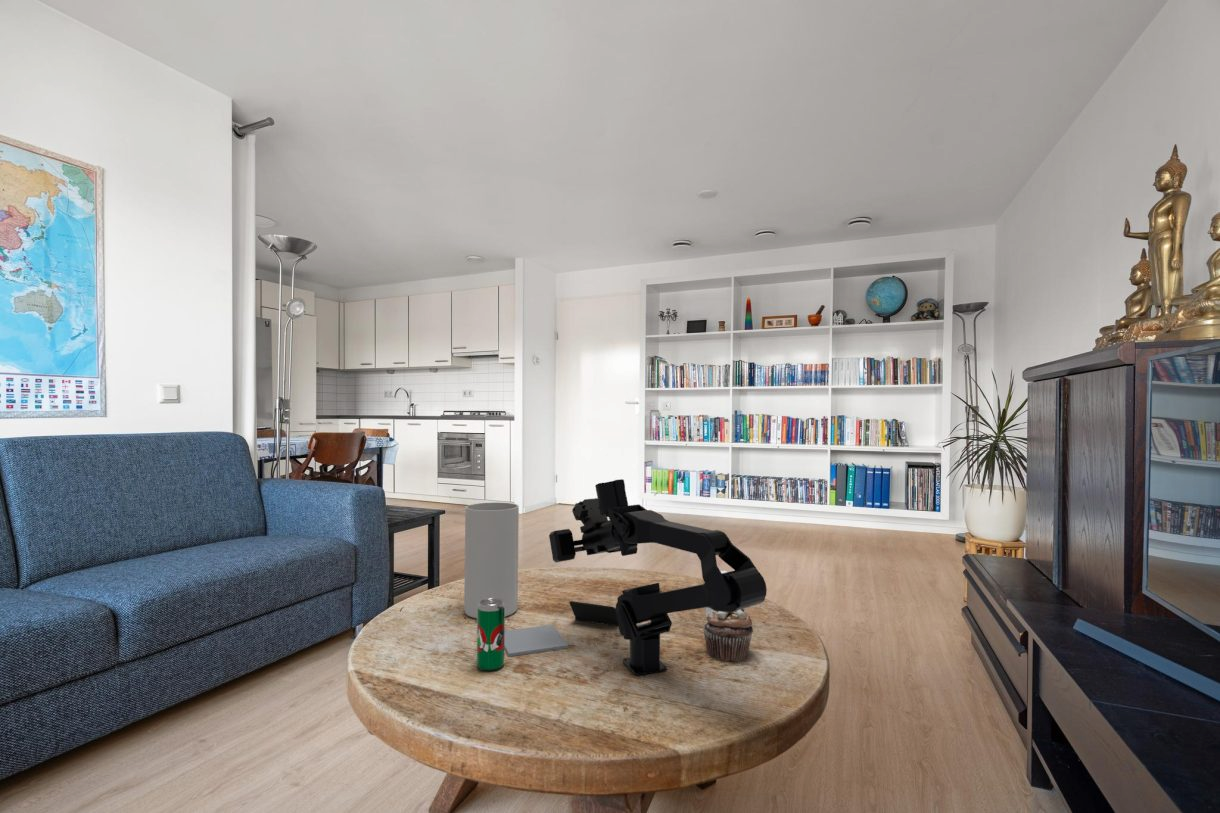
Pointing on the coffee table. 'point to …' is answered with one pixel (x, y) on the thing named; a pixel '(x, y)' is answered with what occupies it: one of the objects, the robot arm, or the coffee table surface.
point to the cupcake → (728, 634)
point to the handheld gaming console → (594, 613)
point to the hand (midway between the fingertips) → (570, 547)
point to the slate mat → (533, 640)
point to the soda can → (490, 634)
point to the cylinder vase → (491, 555)
